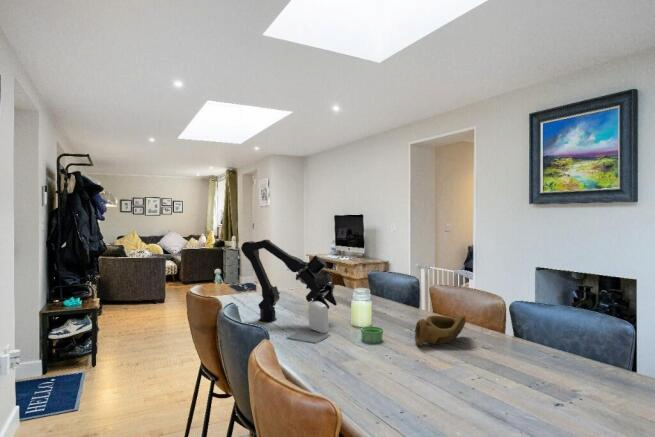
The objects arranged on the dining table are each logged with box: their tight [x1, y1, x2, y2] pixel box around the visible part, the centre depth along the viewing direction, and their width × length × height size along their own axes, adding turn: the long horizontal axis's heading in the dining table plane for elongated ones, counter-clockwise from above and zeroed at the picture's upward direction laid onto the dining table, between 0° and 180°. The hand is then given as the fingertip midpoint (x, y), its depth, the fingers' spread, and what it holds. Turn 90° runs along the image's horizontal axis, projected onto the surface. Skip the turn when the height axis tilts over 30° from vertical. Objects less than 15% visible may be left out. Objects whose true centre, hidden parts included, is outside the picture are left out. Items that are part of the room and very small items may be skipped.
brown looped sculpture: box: [414, 315, 467, 347], centre depth 155 cm, size 18×13×22 cm
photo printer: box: [307, 300, 330, 334], centre depth 170 cm, size 10×4×12 cm, turn 39°
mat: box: [285, 329, 331, 344], centre depth 161 cm, size 14×12×1 cm
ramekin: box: [360, 325, 384, 344], centre depth 158 cm, size 9×9×4 cm
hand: (332, 306), depth 178 cm, fingers open, 7 cm apart
